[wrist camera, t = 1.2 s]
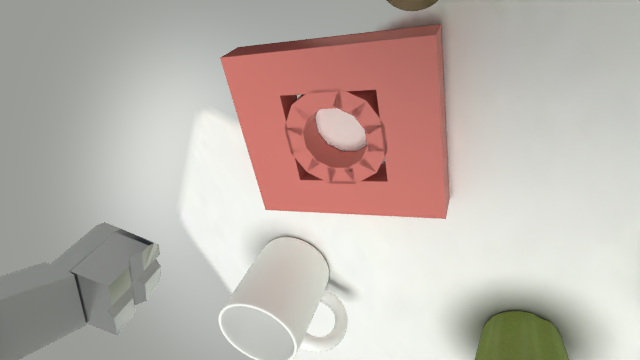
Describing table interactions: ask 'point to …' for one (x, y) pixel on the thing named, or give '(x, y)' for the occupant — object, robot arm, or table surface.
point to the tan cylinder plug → (412, 4)
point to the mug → (281, 303)
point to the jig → (358, 100)
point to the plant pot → (520, 338)
